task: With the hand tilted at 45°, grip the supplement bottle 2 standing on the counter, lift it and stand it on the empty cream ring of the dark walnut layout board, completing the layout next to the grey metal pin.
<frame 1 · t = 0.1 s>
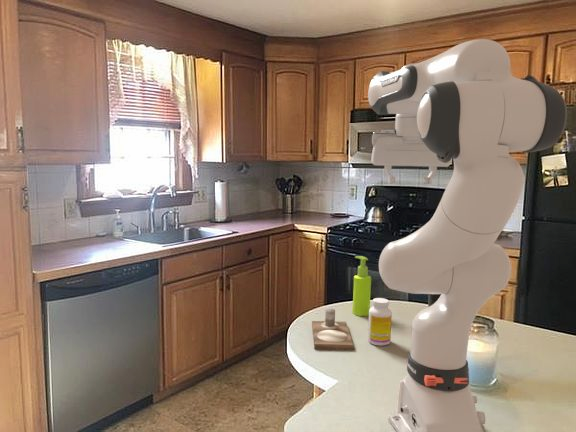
hand: (409, 183, 122), 48 cm above the countertop, tool pointing down, fingers open, 8 cm apart
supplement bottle: (437, 318, 159), on the countertop
layout board: (331, 336, 142), on the countertop
supplement bottle 2: (378, 342, 139), on the countertop
soap dispenser: (360, 313, 164), on the countertop
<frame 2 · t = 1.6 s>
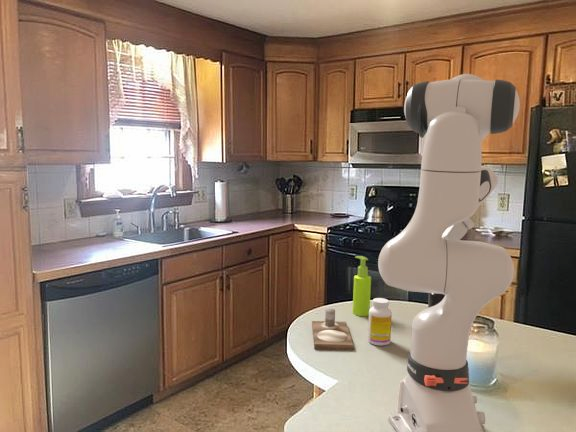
hand: (419, 246, 136), 29 cm above the countertop, tool tilted 45°, fingers open, 8 cm apart
nothing on the countertop moved.
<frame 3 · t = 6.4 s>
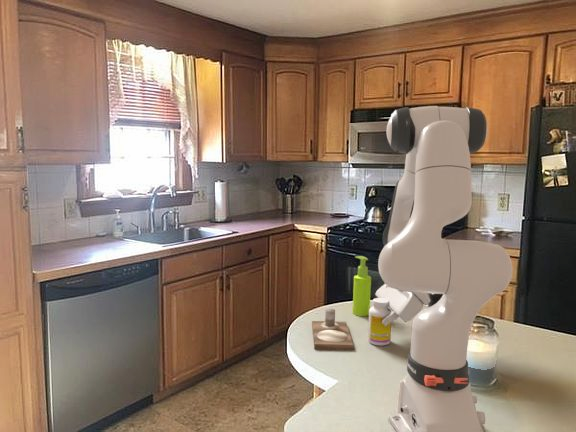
hand: (378, 318, 138), 7 cm above the countertop, tool tilted 45°, fingers closed on supplement bottle 2, 7 cm apart
supplement bottle 2: (378, 342, 139), on the countertop, touching gripper
everything else where it was.
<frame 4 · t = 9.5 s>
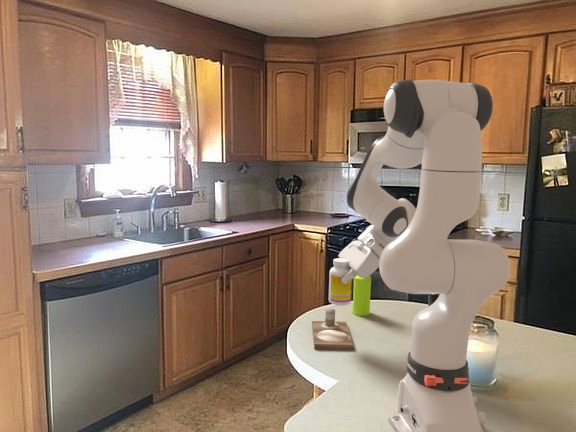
hand: (338, 278, 136), 19 cm above the countertop, tool tilted 45°, fingers closed on supplement bottle 2, 7 cm apart
supplement bottle 2: (339, 303, 137), point 12 cm above the countertop, touching gripper
everything else where it was.
when the fingers open (10 cm above the countertop, at t = 12.4 s): supplement bottle 2 drops 1 cm, resting on layout board.
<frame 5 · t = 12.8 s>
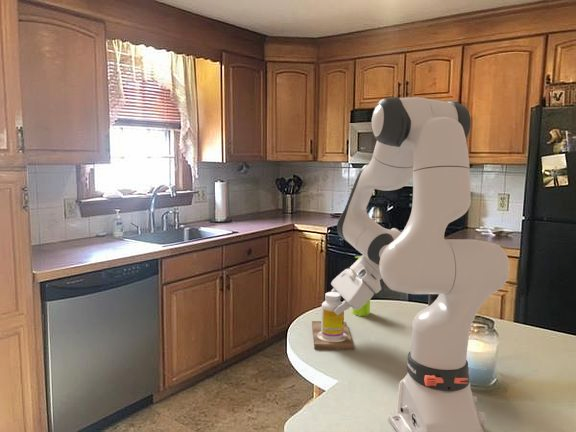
hand: (331, 307, 137), 10 cm above the countertop, tool tilted 45°, fingers open, 8 cm apart
supplement bottle 2: (332, 336, 139), point 1 cm above the countertop, touching layout board
everything else where it was.
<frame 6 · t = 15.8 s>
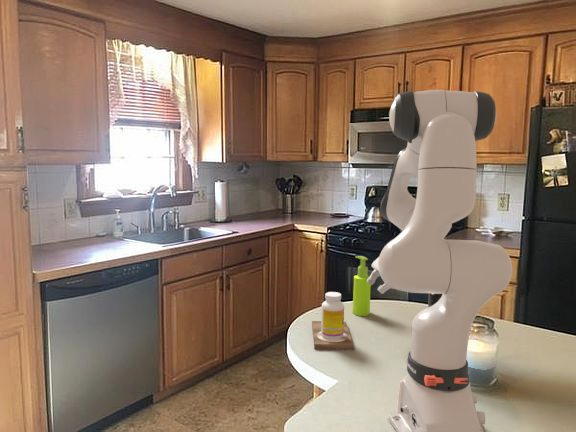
hand: (373, 287, 138), 16 cm above the countertop, tool tilted 45°, fingers open, 8 cm apart
nothing on the countertop moved.
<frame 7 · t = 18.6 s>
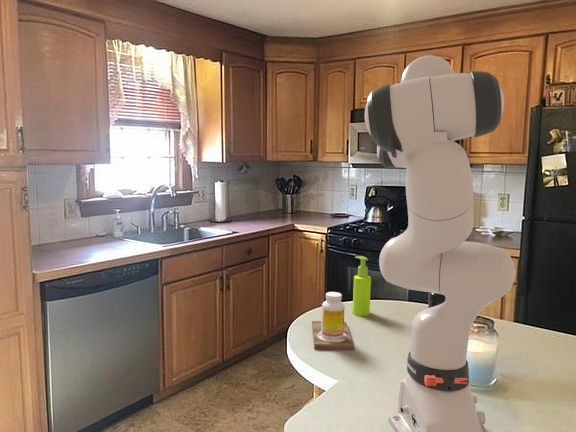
hand: (426, 230, 127), 35 cm above the countertop, tool pointing down, fingers open, 8 cm apart
nothing on the countertop moved.
at the end: supplement bottle 2 0.1 cm from the target spot on the layout board, point 1.4 cm above the layout board's base; supplement bottle 2 tilted 1°; the gripper is holding nothing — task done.
